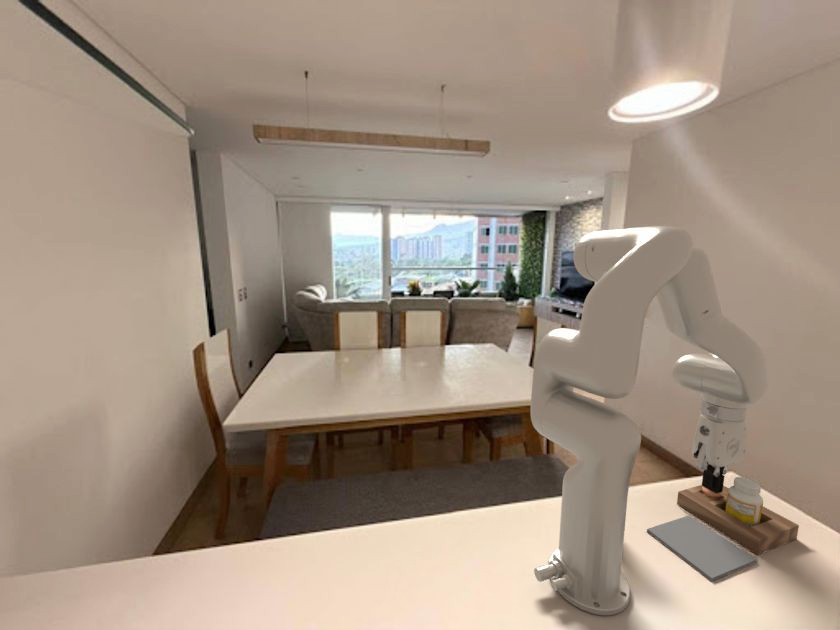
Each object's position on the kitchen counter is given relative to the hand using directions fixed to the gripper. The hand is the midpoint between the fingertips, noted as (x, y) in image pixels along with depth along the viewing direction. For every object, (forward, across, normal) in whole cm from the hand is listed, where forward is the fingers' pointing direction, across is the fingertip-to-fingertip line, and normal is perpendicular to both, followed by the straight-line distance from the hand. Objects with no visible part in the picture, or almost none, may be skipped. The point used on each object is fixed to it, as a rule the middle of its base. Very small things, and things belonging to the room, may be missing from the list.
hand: (711, 488), depth 79 cm
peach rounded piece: (+4, 0, 0) cm, 4 cm away
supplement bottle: (+4, 0, -6) cm, 8 cm away
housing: (+4, 0, -4) cm, 6 cm away
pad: (+4, -14, -7) cm, 16 cm away
